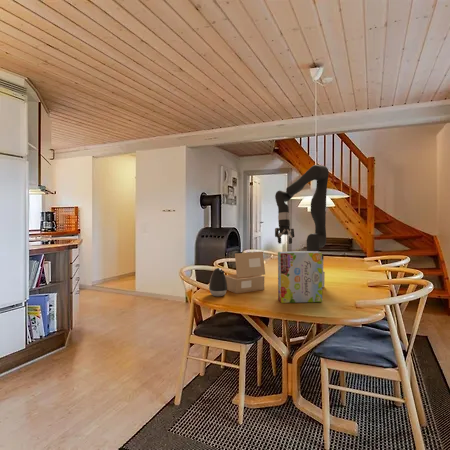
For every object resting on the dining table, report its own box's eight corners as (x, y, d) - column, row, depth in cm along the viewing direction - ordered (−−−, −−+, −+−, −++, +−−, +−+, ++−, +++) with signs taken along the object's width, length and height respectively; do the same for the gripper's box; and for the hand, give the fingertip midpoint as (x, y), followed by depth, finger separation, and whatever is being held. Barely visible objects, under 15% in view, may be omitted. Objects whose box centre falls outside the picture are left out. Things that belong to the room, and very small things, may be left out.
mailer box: (264, 289, 198) (264, 276, 198) (236, 293, 188) (236, 279, 188) (250, 285, 211) (251, 272, 210) (223, 288, 200) (223, 275, 200)
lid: (264, 274, 198) (265, 274, 197) (236, 277, 188) (237, 277, 187) (262, 251, 199) (263, 251, 199) (234, 253, 189) (235, 253, 189)
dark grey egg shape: (216, 298, 176) (216, 270, 176) (205, 294, 185) (205, 267, 184) (231, 296, 182) (231, 268, 182) (220, 292, 191) (220, 266, 190)
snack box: (317, 298, 177) (318, 250, 177) (322, 303, 169) (323, 252, 168) (277, 298, 177) (277, 250, 176) (280, 303, 168) (280, 252, 167)
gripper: (278, 218, 218) (279, 242, 215) (295, 219, 224) (297, 243, 221) (272, 220, 224) (273, 244, 222) (289, 221, 231) (290, 244, 228)
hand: (285, 243), depth 222 cm, fingers open, 8 cm apart
